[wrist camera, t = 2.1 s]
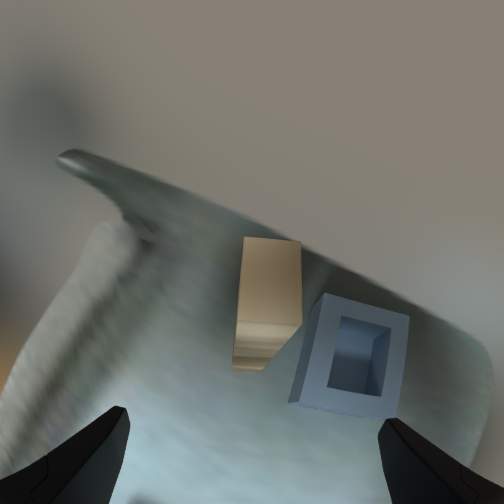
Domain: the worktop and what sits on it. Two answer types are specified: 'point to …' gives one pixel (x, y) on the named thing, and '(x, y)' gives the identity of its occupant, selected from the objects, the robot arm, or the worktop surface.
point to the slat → (266, 301)
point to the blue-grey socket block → (352, 359)
